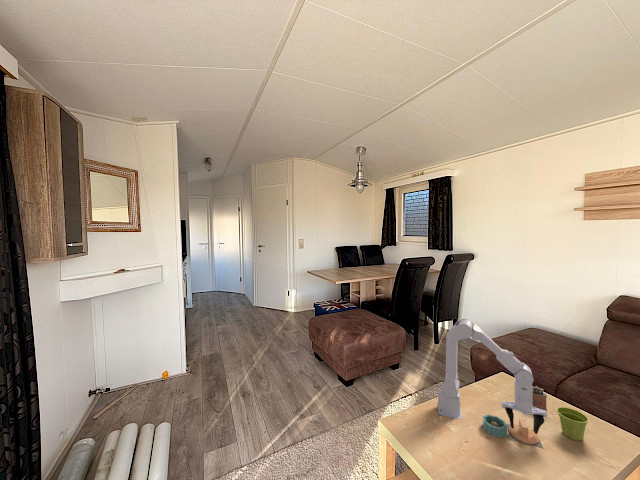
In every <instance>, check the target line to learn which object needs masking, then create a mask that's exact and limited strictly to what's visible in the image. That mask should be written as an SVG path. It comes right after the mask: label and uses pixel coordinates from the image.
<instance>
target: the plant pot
mask: <svg viewBox="0 0 640 480" xmlns="http://www.w3.org/2000/svg"><path fill="white" fill-rule="evenodd" d="M556 413H557V414H558V417H559V421H560V425H561V426H560V427H561V431H562V434H563V435H564V436H565V437H568V438H569V439H571V440H574V441H578V442H580V441H582V440H584V437H585V430H586V427H587V426H586V425H587V424H588V423H589V421H590V419H589V417H588V416H587V415H586V414H584V413H583V412H581V411H578V410H577V409H574V408H571V407H566V406H559V407H556Z"/></svg>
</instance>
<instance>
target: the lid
mask: <svg viewBox="0 0 640 480" xmlns="http://www.w3.org/2000/svg"><path fill="white" fill-rule="evenodd" d="M532 430H533V429H530V428H529V427H528V425H527V422H526V420H525V419H520V418H519V419H518V424H514V428H511V426H510V427H509V431H508V433H509V432H510V434H511V435H512V436H513V437H514V438H516V439H517V440H519V441H521V442H523V443H522V444H524V443H526V444H525V445H527V444H531V445H534V444H538V443H539V440H540V438H539V435H538V433H537V434H535V432H533V431H532ZM510 434H509V435H510ZM531 445H530V446H531Z"/></svg>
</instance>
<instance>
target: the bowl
mask: <svg viewBox="0 0 640 480" xmlns="http://www.w3.org/2000/svg"><path fill="white" fill-rule="evenodd" d="M491 422H496V423H497V424H498V425H499V427H496V426H492V425H491ZM506 424H507V422H506V421H505V420H503V419H502V418H501V417H499V416H496V415H492V414H485V415H483V416H482V427H483V430H484V431H486V433H488V434H490V435H491V436H494V437H498V438H504V437H507V436H508V428H507V425H506Z"/></svg>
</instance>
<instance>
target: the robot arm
mask: <svg viewBox="0 0 640 480" xmlns="http://www.w3.org/2000/svg"><path fill="white" fill-rule="evenodd" d="M445 337H446V338H445V340H446V341H445V343H446V344H445V374H444V375H445V376H444V383H443V385H442V389H441V390H438V391H437V393H438V394H437V395H438V396H437V399H438V400H437V409H438V410H437V412H438V413H437V414H438V415H439V416H446V417H449V418H454V419H458V420H460V421H462V420H463V419H462V418H463V417H462V410H461V394H460V391H459V389H460V385H461V381H460V379H459V374H458V353H459V352H458V348H459V347H458V345H459V343H458V342H459V341H461V340H467V339H471V340H472V341H479V342H480V343H482V344H483V345H484V346H485V347H486V348H488V349H489V350H490V351H491V352H492V353H494V355H495V357H496V360H497V361H498V362H499V363H500V364H501V365H503V366H504V368H506V369H507V370H508V371H509V372H510V373H512V374H514V375H513V376H514V379H515V380H514V401H505V400H504V401H503V400H502V401H500V403H501V404H500V405H501V408H502V409H504V410H505V413H506V414H507V416H508V420H509V423H510V424H509V425H511V428H514V425H515V424H514V423H515V422H514V417H515V414H514V411H518V412H521V413H522V414H523V415H527V416H529V415H532V417H533V429H532V430H534V432H535V434H537V435H538V433H539V430H540V428H541V427H542V425H543V424H545V419H547V418H548V411H547V412H546V411H545V410H542V409H539V408H536V407H533V402H532V399H533V397H532V386H533V383H534V376H533V372H532V370H531V368H530V367H529V365H528V364H525V363H524V362H521V361H520V360H519V359H518V358H517V357H516V356H514V355H515V354H514V353H513V351H509V350H507V349H505V348H501V347H500V346H499V345H498V344H497V343H496V342H495V341H494V340H493V339H492V338H491V337H490V336H489V335H487V334H486V332H485V331H483V330H482V329H481V327H479V325H477V324H475V323H474V322H473V321H472V320H471V319H469V318H461V319H459V320H457V321H456V322H455V324H454V325H453V326H452V327H451V328H450V329H449V330H448V331H447V333H446V336H445Z"/></svg>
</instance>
